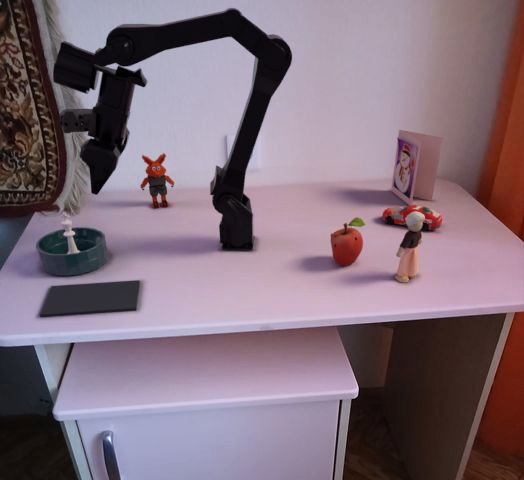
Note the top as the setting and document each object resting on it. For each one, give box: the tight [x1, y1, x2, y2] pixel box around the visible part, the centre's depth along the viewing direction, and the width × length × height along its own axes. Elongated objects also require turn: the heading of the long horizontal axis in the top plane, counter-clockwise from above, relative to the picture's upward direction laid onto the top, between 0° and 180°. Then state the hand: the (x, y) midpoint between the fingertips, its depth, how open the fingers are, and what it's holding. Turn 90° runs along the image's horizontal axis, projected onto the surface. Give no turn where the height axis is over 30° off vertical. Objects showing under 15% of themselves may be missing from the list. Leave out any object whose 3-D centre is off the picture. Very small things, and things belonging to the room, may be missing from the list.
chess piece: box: [59, 211, 81, 254], centre depth 105 cm, size 5×5×10 cm
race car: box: [381, 204, 443, 232], centre depth 120 cm, size 13×5×4 cm, turn 60°
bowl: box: [35, 226, 110, 276], centre depth 107 cm, size 13×13×4 cm
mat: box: [39, 279, 141, 318], centre depth 96 cm, size 16×10×1 cm, turn 97°
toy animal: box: [139, 152, 175, 209], centre depth 128 cm, size 8×6×12 cm
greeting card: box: [390, 129, 444, 206], centre depth 131 cm, size 11×7×15 cm, turn 14°
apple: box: [330, 216, 366, 267], centre depth 103 cm, size 8×7×10 cm
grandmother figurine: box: [394, 211, 425, 284], centre depth 98 cm, size 8×4×13 cm, turn 148°
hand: (98, 185), depth 104 cm, fingers open, 9 cm apart
